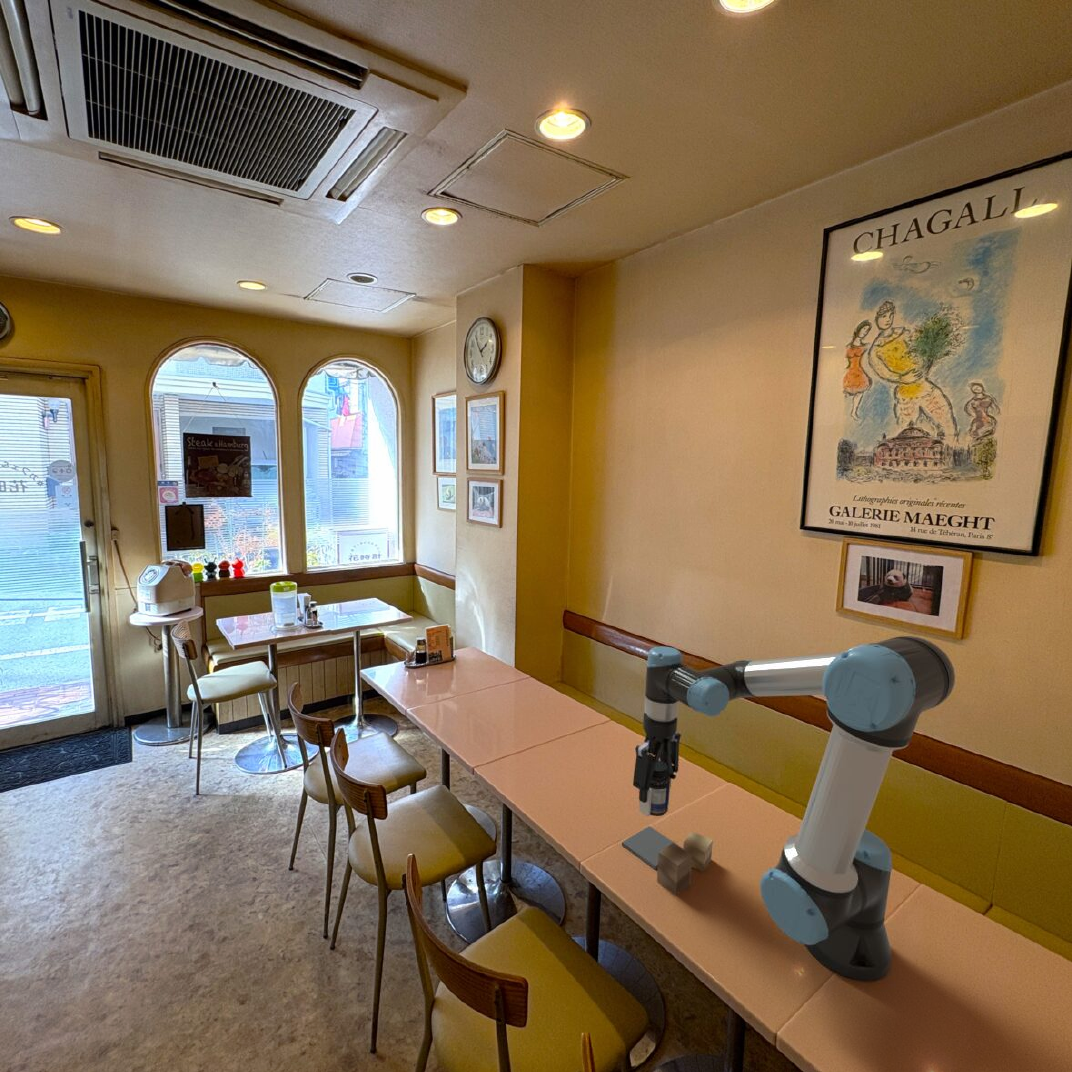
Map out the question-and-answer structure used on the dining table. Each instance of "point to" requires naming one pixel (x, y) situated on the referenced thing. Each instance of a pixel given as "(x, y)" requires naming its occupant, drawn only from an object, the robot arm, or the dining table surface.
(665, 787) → the pill bottle
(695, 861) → the oak block
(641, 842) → the slate coaster
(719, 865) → the dining table surface
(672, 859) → the walnut block
